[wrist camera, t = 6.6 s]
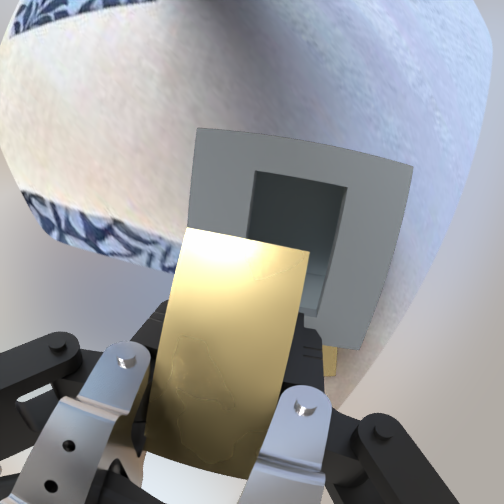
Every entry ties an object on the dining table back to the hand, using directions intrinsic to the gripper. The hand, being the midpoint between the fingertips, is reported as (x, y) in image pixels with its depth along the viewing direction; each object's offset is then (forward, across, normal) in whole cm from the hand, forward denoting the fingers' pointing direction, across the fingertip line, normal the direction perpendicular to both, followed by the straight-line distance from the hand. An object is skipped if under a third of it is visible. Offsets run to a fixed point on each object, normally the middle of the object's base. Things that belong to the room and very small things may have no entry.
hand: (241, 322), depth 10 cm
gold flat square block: (+1, 0, +2) cm, 2 cm away
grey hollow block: (+17, -1, -1) cm, 17 cm away
